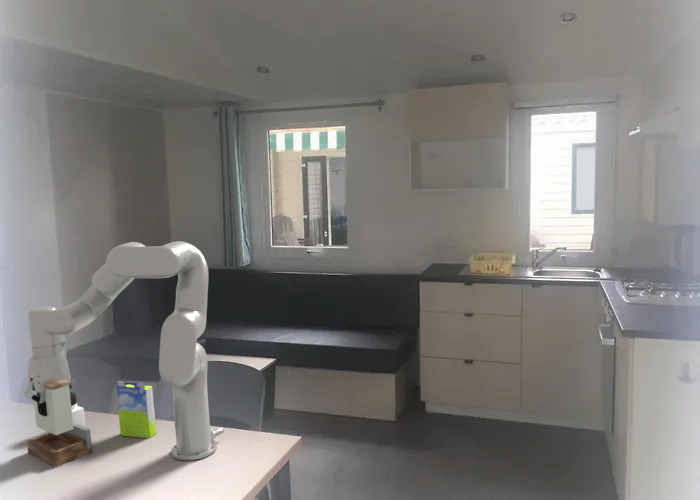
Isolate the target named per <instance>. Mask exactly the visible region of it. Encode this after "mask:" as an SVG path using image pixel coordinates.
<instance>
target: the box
mask: <svg viewBox="0 0 700 500" xmlns="http://www.w3.org/2000/svg"><path fill="white" fill-rule="evenodd" d="M115 384H116V395H117V409H118V421H119V430H120V431H119V432H120V436H122V437H123V436H124V437H125V436H127V437H135V438H136V437H138V438H144V439H150V438H152V437H153V436H155V435H156V434H157V424H156V415H155V414H156V413H155V404H154V393H153V386H152V385H145V383H144V382H142V383H140V382H127V381H115Z"/></svg>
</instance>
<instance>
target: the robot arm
mask: <svg viewBox="0 0 700 500" xmlns="http://www.w3.org/2000/svg"><path fill="white" fill-rule="evenodd" d="M174 276H177V277H178V279H177V284H176V287H175V305H174V310H173V312H172V313H171V314H170V315H168V316H167V317H166V319H165V320H164V322H163V324H162V327H161V330H160V331H161V332H160V338H159V339H160V341H159V358H158V359H159V360H158V372H159V375H160V378H161V380H162V381H163V383H164V384H166V385H167V386H169V387H170V388H172V402H173V403H172V404H173V406H172V407H173V415H174V416H173V417H174V418H173V419H174V428H175V431H174V432H175V439H176V440H175V442H176V443H175V444H174V445H173V446H172V448H171V450H170V451H171V452H170V453H171V456H172V457H173V458H174V459H175V460H176V459H177V460H180V461H195V460H199V459H203V458H206V457H208V456H210V455H212V454H214V452H216V450H217V449H218V445H217V442H216V440H215V438H216V437H217V436H221V435H222V434H224V428H223V427H218V428H216V429H214V427H211V423H210V422H211V421H210V410H209V398H208V397H209V396H208V355H207V353H206V352H207V351H206V350H205V348H204V347H203V346H202V345H201V344H200V343H198V342H197V341H198V340H197V339H198V338H200V336H202V335H203V333H204V332H205V331H206V326H207V311H208V292H209V266H208V263H207V260H206V258H205V257H204V254H203V253H202V252H201V251H200V249H198V248H197V247H195V245H193V244H191V243H189V242H186V241H180V240H178V241H172V242H169V243H166V244H163V245H158V246H157V245H156V246H155V245H154V246H146V245H145V244H143V243H141V242H137V241H130V242H126V243H122V244H119V245H117V246H115V247H113V248H112V249H111V250H110V251H109V253H108V254H107V256H106V260H105V262H104V264H103V265H102V266H101V267H99V269H98V270H97V271H95V273H94V274H93V275H92V277H91V283H92V284H91V285H90V287H89V288H88V289H87V290H86V291H85V292H84V293H83V294H82V295H81V296H80V297H79V298H78V299H77V300H76V301H75V302H72V303H70V304H68V305H65V306H63V307H60V308H57V307H56V306H54V305H53V306H52V305H43V306H37V307H33V308H31V309H29V312H28V313H27V315H28V327H29V335H30V336H29V337H30V344H31V346H30V347H31V354H32V356H30V357H29V358H28V366H27V367H28V369H27V376H28V377H27V380H28V383H27V384H28V386H27V388H26V389H25V390H24V393H23V396H24V397H27V398H29V399H31V400H33V402H34V401H36V402H37V406H38V413H39V414H40V415H42V416H47V408H46V403H45V402H44V398H45V391H46V387H45V385H47V384H50V383H53V382H57V381H60V380H66V381H69V389H70V390H71V389H72V387H73V385H74V384H75V383H76V382H77V378H75V377H74V376H73V374H71V373H70V369H69V362H68V360H67V357H66V353H65V351H64V350H63V348H64V347H66V345H67V344H66V342H65V341H63V342H62V339H61V338H62V337H61V336H68V335H72V334H74V333H76V332H77V331H79V330H81V329H84V328H85V327H86V326H88V325H90V324H91V323H92V322H94V321H95V319H97V318H98V317H99V316H100V315H101V314H102V313H103V312H104V311H105V310H106V309H107V308H108V307H109V306H110V305H111V304H112V302H113V301H115V299H116V298H117V297H118V295H119V294H120V293H121V292H122V291H123V290H125V288H127V287H128V286H129V285H130V284H131V283H132V281H134V280H135V279H167V278H171V277H174ZM33 391H36V395H34V394H33Z"/></svg>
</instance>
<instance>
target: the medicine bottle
mask: <svg viewBox="0 0 700 500" xmlns="http://www.w3.org/2000/svg"><path fill="white" fill-rule="evenodd" d="M70 399H71V409H72V419H73V423H76V424H78V425H81V426H83V427H86V421H85V420H86V418H85V410H84V409H85V408H84V407H82V406H79V405H78V399H77V394H76V393H75V392H72V391H70Z"/></svg>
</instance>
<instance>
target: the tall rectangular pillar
mask: <svg viewBox="0 0 700 500" xmlns="http://www.w3.org/2000/svg"><path fill="white" fill-rule="evenodd" d="M45 387H46V391H45V398H44V402H45V403H46V408H47V416H42V415H40V414H39V413H38V406H37V402H36V401H34V400H33V403H34V404H33V405H34V406H33V407H34V415H35V424H36V428H39V429H41V430H43V431H45V432H47V433H49V432H50V433H52V434H54V435H59V434H61V433H64V432H67V431H69V430H72V429H73V419H72V409H71V399H70V392H71V389H69V381H66V380H60V381H57V382H53V383H50V384H47V385H45ZM32 394H34V395H36V391H32Z"/></svg>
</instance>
